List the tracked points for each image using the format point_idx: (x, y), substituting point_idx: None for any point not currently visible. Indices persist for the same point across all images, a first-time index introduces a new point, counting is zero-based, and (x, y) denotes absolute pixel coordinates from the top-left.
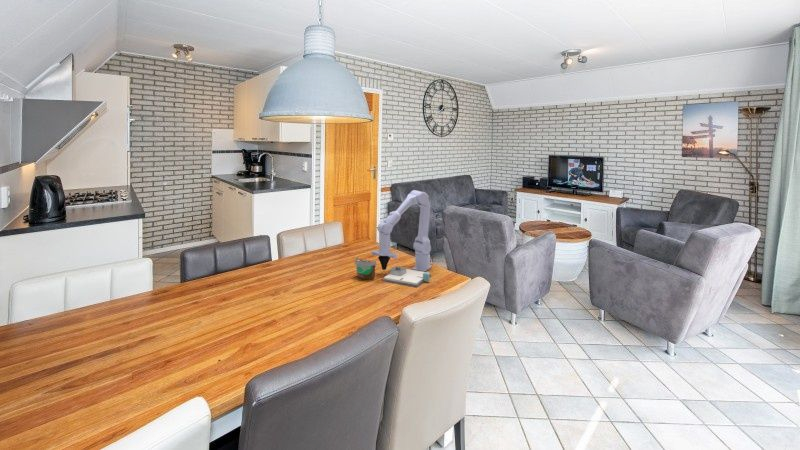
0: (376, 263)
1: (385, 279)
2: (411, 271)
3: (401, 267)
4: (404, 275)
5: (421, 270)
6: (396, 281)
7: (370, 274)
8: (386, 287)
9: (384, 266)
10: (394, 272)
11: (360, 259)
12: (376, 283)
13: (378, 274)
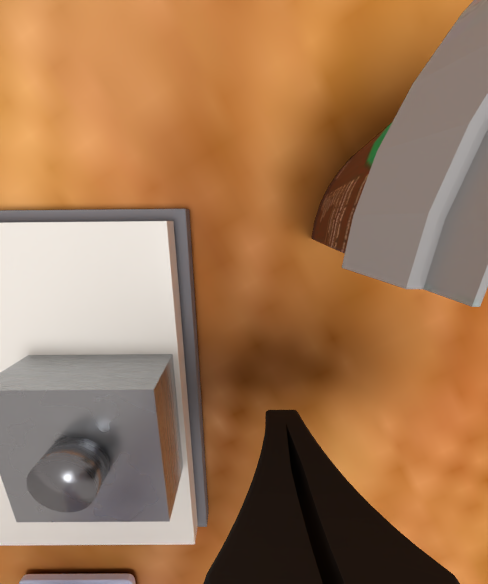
0: (360, 271)
1: None
2: None
3: (76, 516)
4: None
5: (52, 576)
6: None
7: (358, 159)
8: (28, 24)
9: (266, 442)
10: (91, 371)
11: None
12: (211, 100)
13: (326, 368)
